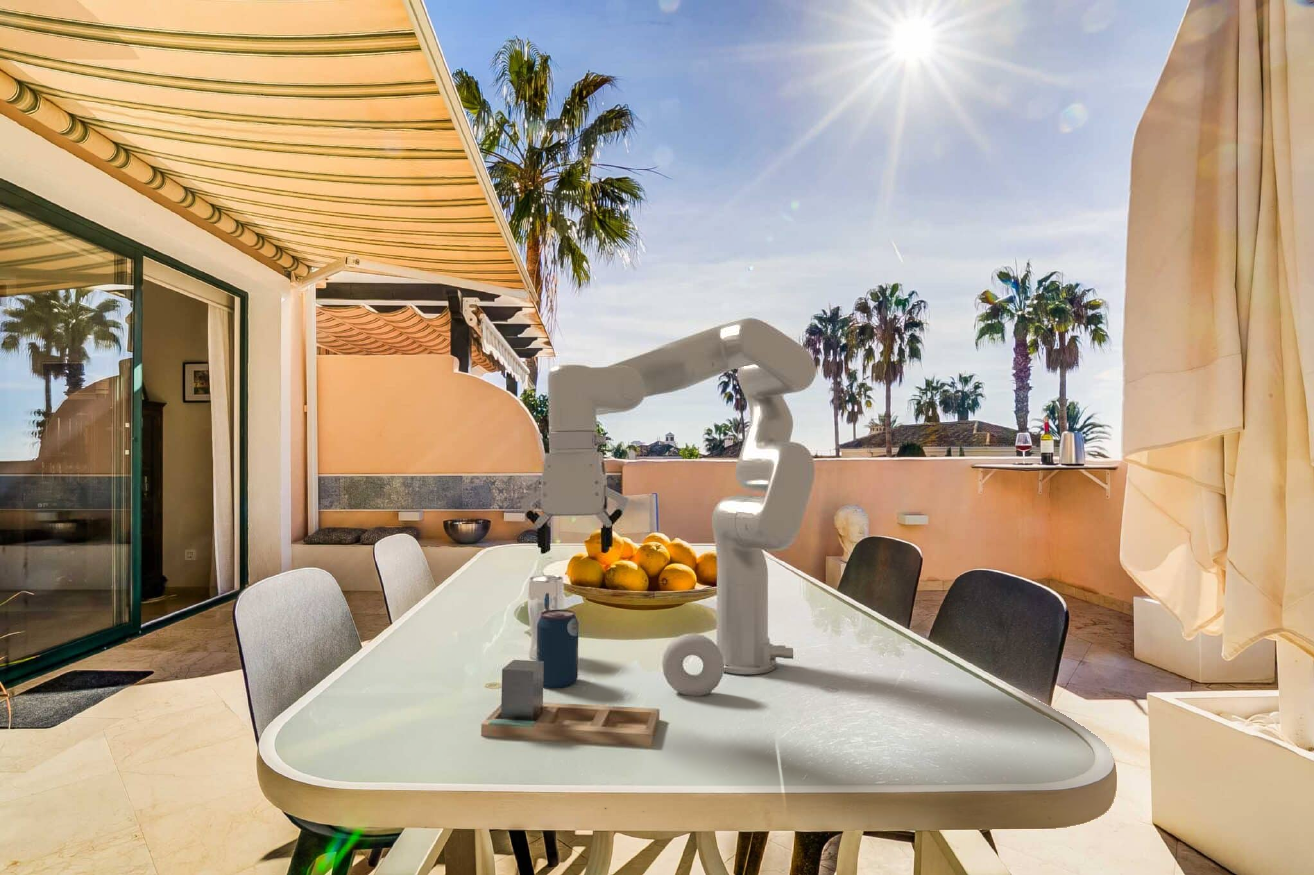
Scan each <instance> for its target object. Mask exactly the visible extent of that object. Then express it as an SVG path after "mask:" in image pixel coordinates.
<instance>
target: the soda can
mask: <svg viewBox="0 0 1314 875" xmlns="http://www.w3.org/2000/svg"><path fill="white" fill-rule="evenodd" d="M535 661H544V670H543V688H545V689H564V688H569V687H571V686H573V685H575V683H576V681H577V679H578V678H579V677H578V676H579V621H578V619H577V616H576V612H575V611H573V610H571V609H564V608H563V609H557V610H548V611H544V612H542V613H541V617H540V619H539V621H538V623H537V657H536V660H535Z"/></svg>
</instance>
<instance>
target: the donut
mask: <svg viewBox="0 0 1314 875" xmlns="http://www.w3.org/2000/svg"><path fill="white" fill-rule="evenodd" d="M662 656H663V657H662V662H661V665H662V671H663V676H664V677H665V680H666V682H667V684H669V686H670V687H671V688H672V689H673V690H674V691H675V692H677V693H679V694H680V695H683V696H689V697H702V696H705V695H707V694H710V693H712V692H713V691H714V689H716V688H717V687H718V686H719V684H720V682H721V680H722V678H723V675H724V672H723V671H724V662H723V656H722V654H721V652H720V650H719V648H718V647H717V643H715V641H713V640H712V639H710V638H709V637H707V636H705V635H703V634H700V633H695V632H694V633H685V634H682V635H680V636H678V637H676V638H674V639H673V640H672V641H671V642H670V643H669V644H668V645H667V647H666V649H665V651H664V652H663V655H662ZM689 656H696V657H697V658H699V659H700V660H701V661H702V665H703V666H702V670H701V671H700V672H699V673H697V674H690V673H689V672H687V671H686V670H685V668H684V665H683V664H684V661H685V659H686V657H689Z"/></svg>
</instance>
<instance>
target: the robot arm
mask: <svg viewBox="0 0 1314 875" xmlns="http://www.w3.org/2000/svg"><path fill="white" fill-rule="evenodd" d="M734 369H738V370H737V380H738V384H739V387H740V389H741V391H742V393H743V395H744V397H745V400H746V401H747V404H748V407H749V411H750V412H749V413H750V417H749V423H748V427H747V431H746V434H745V437H744V440H743V443H742V446H741V449H740V453H739V455H738V459H737V462H736V466H735V479H736V481H737V483H738V484H739V486H741V488H743V489H746V490H747V491H751V492H759V493H765V496H764V495H763V496H759V495H752V494H750V495H749V494H734V495H733V494H732V495H730V496H726V497H725V498H723V499H721V500H720V501H719V502H718V503H717V504H716V505H715V507H714V509H713V513H712V516H711V527H712V528H711V529H712V535H713V539H714V543H715V552H716V554H715V555H716V646H717V647H718V648H719V650H720V652H721V654H722V656H723V662H724V671H723V673H727V674H732V675H733V674H734V675H760V674H766V673H770V672H772V671H774V670H775V669H776V668H777V658H781V659H782V658H783V659H789V660H790V659H794V648H793V647H786V645H783V644H781V645H776V644H775V645H774V644H773V643H771V641H770V637H769V618H768V617H769V570H768V563H767V560H766V557H765V553H764V551H763V550H767V551H774V552H775V551H776V552H777V551H783V550H785V549H788V548H789V547H791V546H792V544H793V543H794V542H795V541H796V539H797V537H798V536H799V533H800V531H801V527H802V524H803V521H804V517H805V513H806V509H807V507H808V503H809V500H810V497H811V496H810V495H811V494H812V489H813V486H814V481H815V474H816V473H815V471H816V469H815V461H814V458H813V455H812V453H811V452H810V450H809V449H808V448H807V447H806V446H804V445H803V444H801V443H798V442H794V441H791V438H792V434H793V429H794V419H793V415H792V412H791V409H790V408H789V406H788V404H787V403H786V400H785V398H784V397H783V395H786V394H795V393H799V392H801V391H805V390H806V389H807V388H808V389H809V387H811V385H812V384H813V382H814V381H815V378H816V374H817V370H816V369H817V368H816V363H815V360H814V357H813V356H812V355H811V353H810V352H809V351H808V350H807V349H806V348H805V346H803V345H802V344H800V343H798V342H797V341H795V340H794V339H792V338H791V337H790V336H788V335H786V334H785V333H783V332H782V331H780V330H779V329H777V328H776V327H774V326H772V325H771V324H768V323H767V322H764V321H762V320H760V319H758V318H753V317H747V318H742V319H738V320H735V321H732V322H728V323H725V324H721V325H717V326H714V327H712V328H709V329H706V330H703V331H700V332H698V333H694V334H692V335H689V336H685V337H683V338H680V339H676V340H674V341H671V342H668V343H666V344H663V345H661V346H658V347H655V348H653V349H651V350H649V351H646V352H644V353H641V354H639V355H636V356H634V357H631V358H628V359H625V360H622V361H619V362H615V363H613V364H611V365H608V366H594V367H591V366H587V365H582V364H562V365H556V366H554V367H552V368H551V369H550V370H549V371H548V374H547V397H548V398H547V399H548V402H547V403H548V448H549V451H548V452H549V453H548V452H546V453H545V455H544V457H543V458H544V460H543V465H542V471H541V472H542V473H541V483H540V484H541V485H540V488H539V489H538V490H537V491H535V492H533V493H531V494H529V495H528V496H526V497H524V498H522V499H521V500H520V501H519V504H520V506H521V508H522V510H523V512H524V513H525V516H526V519H528V520H529V521H530V522H531V523H532V525H534V527H535V528H536V530H537V532H536V533H537V534H536V536H537V538H536V539H537V547H538V548H539V549H540V554H541V555H544V554H546V553H549V552H551V528H550V526H549V525H548V523H549V522H550V520H551V519H552V518H553V517H569V516H570V517H573V516H574V517H576V516H577V517H579V516H583V517H585V516H595V517H597V518H598V519H599V521H600V522H601V523H602V527H601V528H600V551H601V552H600V553H602V554H607V553H608V552H609V551H610V548H612V547H613V526H614V525H615V524H616V523H617V521H618V520H619V519H620V518H621V517H622V516H623V515H624V512H625V510H626V507H627V506H628V504H629V502H630V499H629V497H627V496H625V495H623V494H622V493H619V492H617V491H615V490H613V489H611V488H609V487H608V480H607V471H606V470H607V469H606V465H605V459H604V454H603V452H602V451H598V449H599V446H601V445H605V444H606V443H607V438H606V435H601V434H599V433H598V431H597V416H601V415H607V414H618V413H624V412H629V411H631V410H633V409H635V408H637V407H638V406H639V405H640V404H641V403H642V402H643V400H644V399H645V398H647V397H652V396H658V395H662V394H663V395H664V394H669V393H673V392H677V391H680V390H683V389H687V388H689V387H690V388H691V387H692V386H695V385H696V384H699V383H702V382H704V381H706V380H709V379H711V378H713V377H716V376H719V375H722V374H724V373H726V372H729V371H731V370H734ZM609 499H610V500H613V501H614V502H616V503H617V506H616V508H615V510H614V511H613V512H612V513H611V514H610V513H609V512H608V511H607V510H608V507H609ZM539 500H540V509H541V514H539V513H538V512H537V511H536V510H535V509H534V507H533V504H534V503H536V502H537V501H539Z"/></svg>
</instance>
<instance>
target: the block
mask: <svg viewBox="0 0 1314 875" xmlns="http://www.w3.org/2000/svg"><path fill="white" fill-rule="evenodd" d="M543 670H544V661H536V660H529V659H528V660H525V659H522V660H521V659H512V660H511V661H510V662H509V663H507V665H505V666H504V667H502V669H501V698H500V699H501V702H500V703H501V704H500V705H501V719H506V720H523V721H535V723H536V721H537V720H538V719H539V718H540V716H541V715H542V714H543V702H544V687H543Z"/></svg>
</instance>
